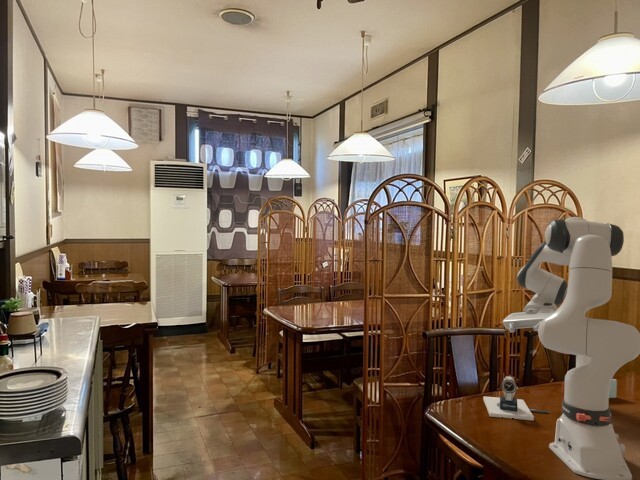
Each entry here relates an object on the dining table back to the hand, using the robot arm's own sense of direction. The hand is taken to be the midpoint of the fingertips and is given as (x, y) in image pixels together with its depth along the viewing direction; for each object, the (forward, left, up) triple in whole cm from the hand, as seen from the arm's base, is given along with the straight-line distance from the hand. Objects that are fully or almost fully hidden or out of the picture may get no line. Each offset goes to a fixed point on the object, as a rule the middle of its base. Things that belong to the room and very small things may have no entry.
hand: (523, 330), depth 168 cm
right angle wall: (+18, -30, -28) cm, 44 cm away
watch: (-11, +7, -26) cm, 29 cm away
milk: (+3, -23, -27) cm, 36 cm away
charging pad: (-9, +3, -27) cm, 29 cm away
